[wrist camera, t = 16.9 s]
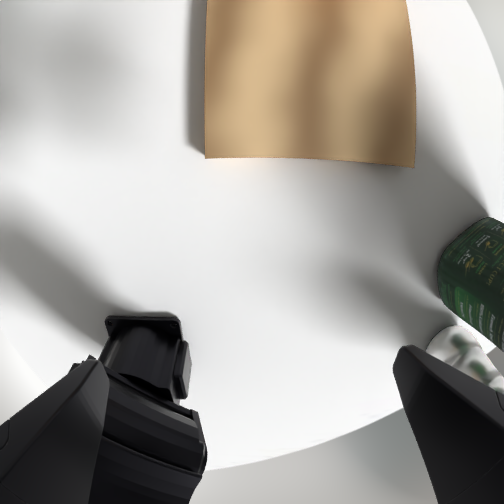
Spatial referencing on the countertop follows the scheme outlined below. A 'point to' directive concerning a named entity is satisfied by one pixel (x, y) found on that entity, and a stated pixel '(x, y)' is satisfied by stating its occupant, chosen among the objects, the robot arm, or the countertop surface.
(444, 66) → the countertop surface
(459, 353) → the plastic bottle
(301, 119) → the oak board
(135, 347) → the robot arm
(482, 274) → the coffee jar
